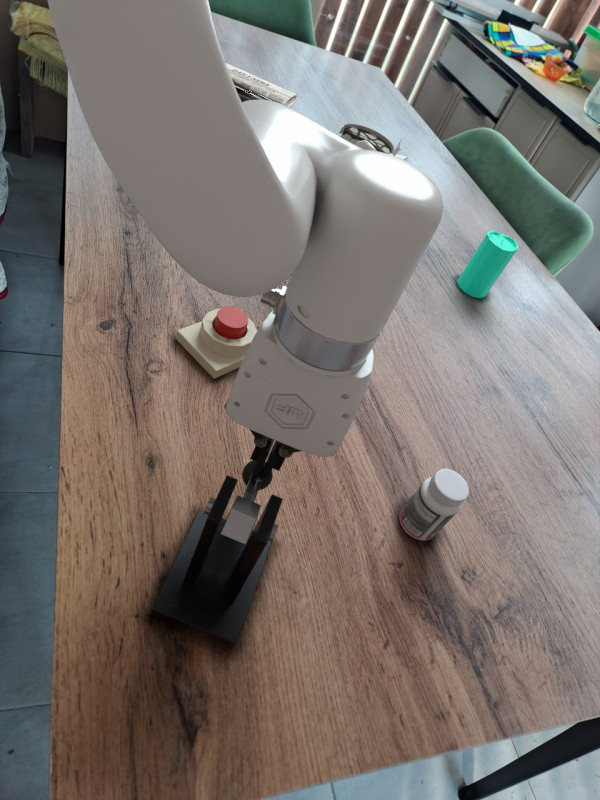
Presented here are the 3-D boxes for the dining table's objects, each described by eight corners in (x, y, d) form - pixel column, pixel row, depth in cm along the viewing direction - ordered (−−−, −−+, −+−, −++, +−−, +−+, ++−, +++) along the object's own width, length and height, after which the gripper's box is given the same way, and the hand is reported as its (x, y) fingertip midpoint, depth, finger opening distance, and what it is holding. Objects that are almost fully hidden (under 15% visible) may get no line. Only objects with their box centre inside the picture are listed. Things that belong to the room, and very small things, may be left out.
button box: (213, 379, 71) (219, 359, 68) (175, 338, 73) (179, 318, 71) (271, 353, 77) (278, 334, 74) (233, 316, 79) (239, 297, 77)
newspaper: (194, 74, 131) (196, 62, 129) (213, 67, 140) (215, 56, 139) (284, 114, 131) (287, 103, 130) (297, 105, 141) (300, 94, 139)
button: (227, 343, 71) (230, 331, 69) (207, 323, 72) (210, 311, 71) (250, 333, 73) (254, 322, 72) (231, 314, 75) (234, 302, 73)
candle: (491, 292, 107) (528, 238, 98) (477, 302, 103) (515, 246, 94) (465, 273, 109) (500, 219, 100) (451, 282, 105) (486, 226, 96)
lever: (240, 476, 58) (251, 450, 57) (267, 488, 58) (278, 462, 57) (214, 535, 45) (227, 503, 44) (249, 549, 45) (263, 518, 45)
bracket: (197, 514, 58) (223, 439, 49) (270, 544, 58) (309, 475, 49) (149, 614, 50) (171, 547, 41) (234, 648, 50) (273, 589, 41)
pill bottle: (431, 507, 68) (467, 468, 62) (439, 543, 65) (477, 506, 59) (395, 502, 67) (428, 461, 61) (401, 539, 63) (436, 500, 58)
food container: (386, 193, 121) (406, 148, 114) (373, 200, 117) (393, 154, 110) (339, 163, 123) (356, 118, 116) (325, 170, 119) (342, 123, 112)
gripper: (214, 314, 39) (176, 465, 52) (413, 398, 40) (326, 526, 53) (248, 261, 45) (206, 410, 57) (423, 336, 45) (342, 466, 58)
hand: (264, 465), depth 55 cm, fingers closed
